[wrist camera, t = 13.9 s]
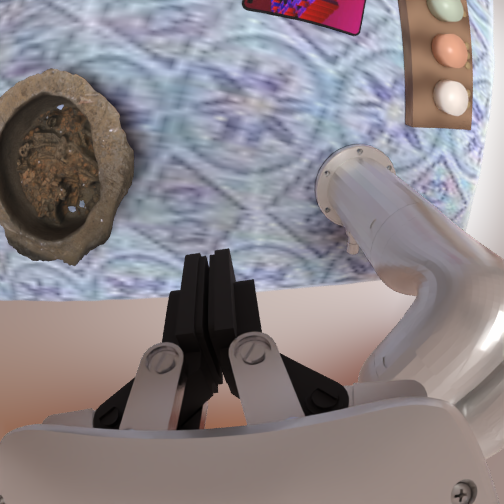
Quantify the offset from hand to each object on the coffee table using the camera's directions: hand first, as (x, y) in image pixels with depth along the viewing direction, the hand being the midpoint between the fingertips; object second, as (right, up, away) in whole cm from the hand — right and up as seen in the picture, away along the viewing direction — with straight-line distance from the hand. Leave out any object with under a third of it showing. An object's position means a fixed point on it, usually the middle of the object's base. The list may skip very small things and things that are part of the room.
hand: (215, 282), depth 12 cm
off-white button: (+29, +23, +20) cm, 42 cm away
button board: (+28, +30, +18) cm, 45 cm away
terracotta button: (+28, +29, +16) cm, 43 cm away
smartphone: (+8, +32, +15) cm, 37 cm away
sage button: (+27, +35, +12) cm, 46 cm away
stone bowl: (-25, +15, +23) cm, 37 cm away
